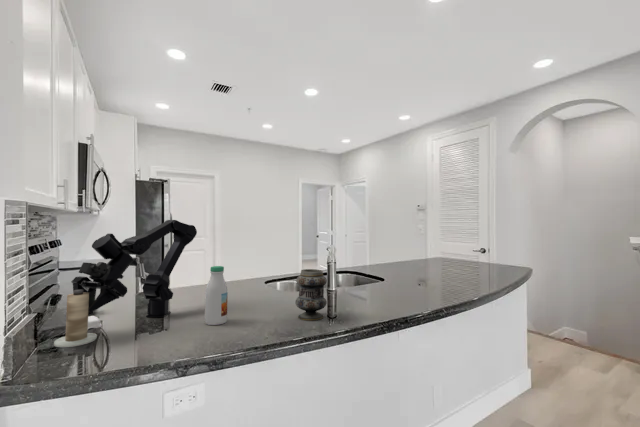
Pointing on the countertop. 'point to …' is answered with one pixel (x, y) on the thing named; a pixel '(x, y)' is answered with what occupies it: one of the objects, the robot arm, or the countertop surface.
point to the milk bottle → (216, 297)
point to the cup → (90, 299)
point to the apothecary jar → (311, 294)
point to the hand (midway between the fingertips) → (78, 309)
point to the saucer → (63, 343)
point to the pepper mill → (77, 316)
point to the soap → (93, 322)
